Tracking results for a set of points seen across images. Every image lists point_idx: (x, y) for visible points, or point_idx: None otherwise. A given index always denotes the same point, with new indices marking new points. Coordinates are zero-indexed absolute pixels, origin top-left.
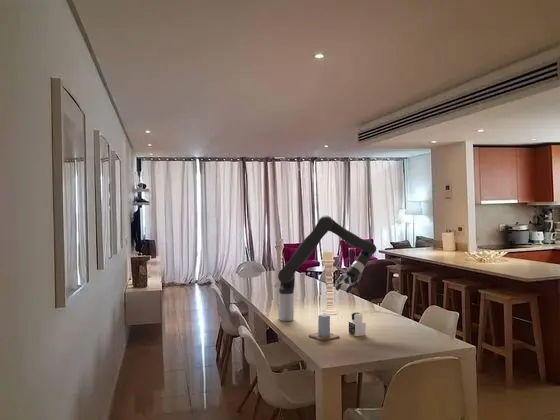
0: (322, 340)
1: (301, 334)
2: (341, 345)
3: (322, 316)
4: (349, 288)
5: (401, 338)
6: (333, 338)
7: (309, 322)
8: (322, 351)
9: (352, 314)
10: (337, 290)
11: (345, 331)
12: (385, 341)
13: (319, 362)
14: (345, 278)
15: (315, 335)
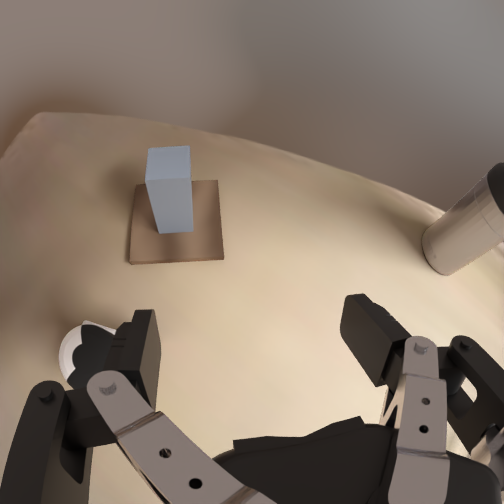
0: (141, 186)
1: (256, 181)
2: (72, 213)
3: (161, 149)
4: (111, 353)
5: (8, 449)
6: (132, 231)
7: (392, 303)
8: (84, 145)
9: (99, 328)
10: (341, 323)
11: (190, 356)
12: (7, 374)
13: (54, 114)
14: (395, 456)
15: (196, 192)
